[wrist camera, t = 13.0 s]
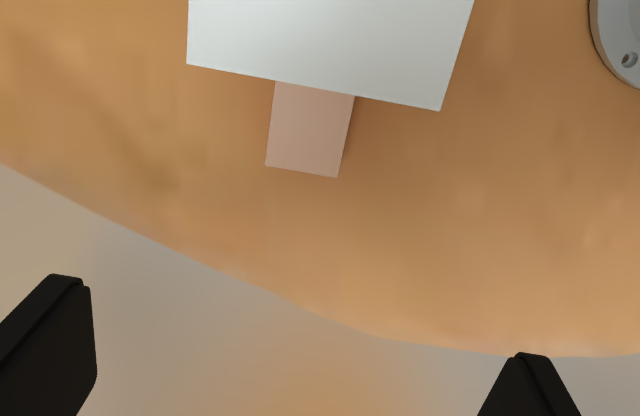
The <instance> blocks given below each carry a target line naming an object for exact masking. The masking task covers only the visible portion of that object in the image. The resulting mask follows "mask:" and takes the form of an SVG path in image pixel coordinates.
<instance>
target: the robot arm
mask: <svg viewBox="0 0 640 416" xmlns="http://www.w3.org/2000/svg"><path fill="white" fill-rule="evenodd" d="M589 11H590V26H591V32H592V36H593V39H594V43H595V46H596V49H597V51H598V53H599V55H600V56H601V58H602V60H603V62H604V63H605V65H606V66H607V67H608V68H609V69H610V70H611V71H612V72H613V73H614V75H615V76H616V77H617V78H619V79H620V80H622V81H624V82H625V83H627V84H629V85H630V86H632V87H634V88H637V89H640V0H590V6H589ZM623 57H624V59H623V60H622V58H623ZM96 377H97V364H96V352H95V341H94V328H93V316H92V305H91V294H90V288H89V287H87V286H84V285H83V281H82V279H81V278H76V277H71V276H65V275H59V274H50V275H48V276H47V277H46V278H45V279H44V280H43V281H42V282H41V283H40V284H39V285H38V286H37V287H36V288H35V289H34V290H33V291H32V292H31V293H30V294H29V295H28V296H27V297H26V298H25V299H24V300H23V301H22V302H21V303H20V304H19V305H18V306H17V307H16V308H15V309H14V310H13V311H12V312H11V313H10V314H9V315H8V316H7V317H6V318H5V319H4V320H3V321H2V322H1V323H0V416H76V415H77V413H78V412H79V410H80V408H81V407H82V405H83V403H84V402H85V400H86V399H87V397H88V395H89V394H90V392H91V390H92V388H93V386H94V384H95V381H96ZM477 416H581V414H580V412H579V411H578V409H577V407H576V405H575V403H574V402H573V400H572V398H571V396H570V394H569V393H568V391H567V389H566V387H565V385H564V384H563V382H562V380H561V378H560V376H559V375H558V373H557V371H556V369H555V367H554V366H553V364H552V362H551V361H550V359H549V358H547V357H546V356H542V355H536V354H530V353H524V352H519V353H517V354H516V355H515V356H514V357H510V358H508V360H507V361H506V363H505V365H504V367H503V368H502V370H501V372H500V374H499V376H498V378H497V380H496V381H495V383H494V385H493V387H492V389H491V391H490V392H489V394H488V396H487V398H486V400H485V402H484V404H483V405H482V407H481V409H480V411H479V413H478V415H477Z"/></svg>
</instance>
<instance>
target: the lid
mask: <svg viewBox="0 0 640 416" xmlns="http://www.w3.org/2000/svg"><path fill="white" fill-rule="evenodd" d="M473 4H474V0H189V13H188V39H187V64H191V65H196V66H201V67H207V68H212V69H217V70H223V71H228V72H233V73H238V74H244V75H249V76H254V77H260V78H265V79H270V80H276V82H275V89H274V97H273V105H272V112H271V120H270V127H269V135H268V142H267V150H266V158H265V166H271V167H276V168H282V169H288V170H294V171H299V172H305V173H311V174H316V175H322V176H328V177H334V178H337V177H338V172H339V168H340V163H341V159H342V154H343V149H344V145H345V140H346V136H347V131H348V126H349V122H350V117H351V113H352V108H353V103H354V99H355V96H360V97H366V98H371V99H376V100H382V101H387V102H392V103H398V104H403V105H408V106H414V107H419V108H424V109H429V110H435V111H440V109H441V106H442V103H443V100H444V96H445V93H446V90H447V87H448V84H449V80H450V77H451V74H452V71H453V68H454V64H455V61H456V58H457V55H458V52H459V48H460V45H461V42H462V39H463V36H464V32H465V29H466V26H467V23H468V20H469V16H470V13H471V10H472V7H473Z"/></svg>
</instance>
